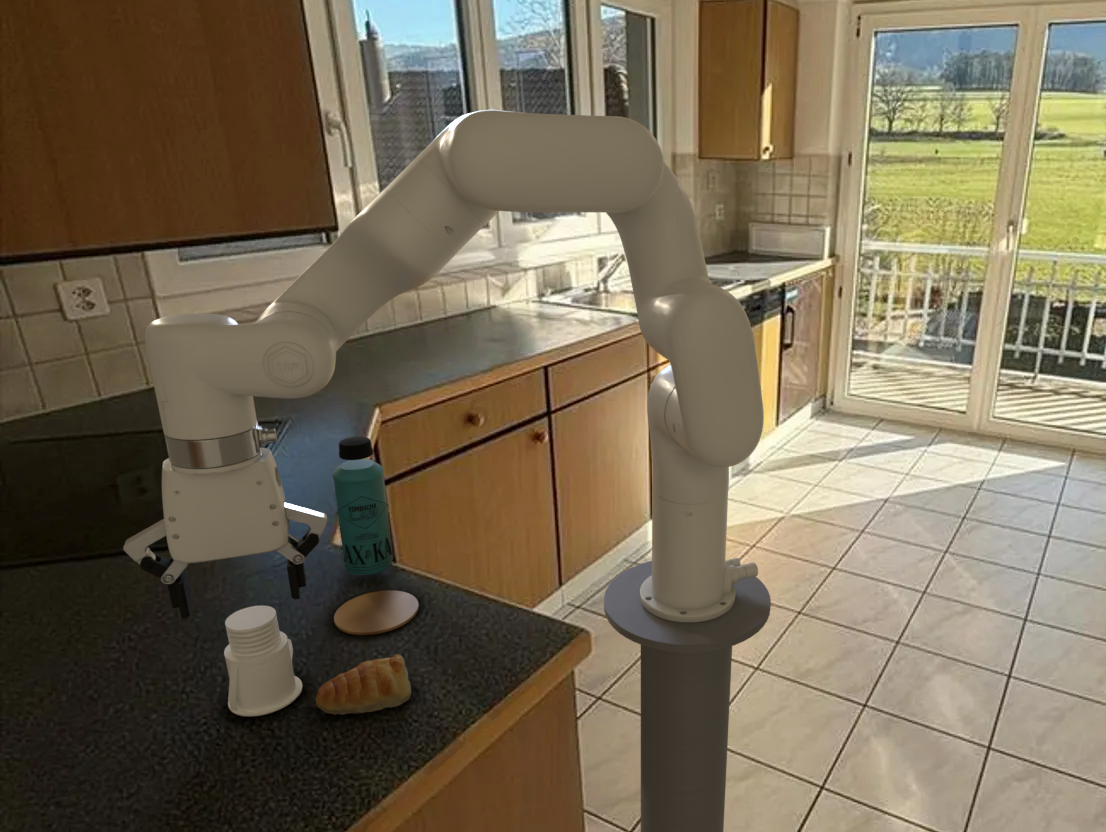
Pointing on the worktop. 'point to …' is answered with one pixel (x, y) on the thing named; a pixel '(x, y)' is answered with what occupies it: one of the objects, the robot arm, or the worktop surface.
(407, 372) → the worktop surface
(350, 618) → the cork coaster
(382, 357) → the worktop surface
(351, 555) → the beverage bottle
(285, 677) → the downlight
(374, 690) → the pastry
